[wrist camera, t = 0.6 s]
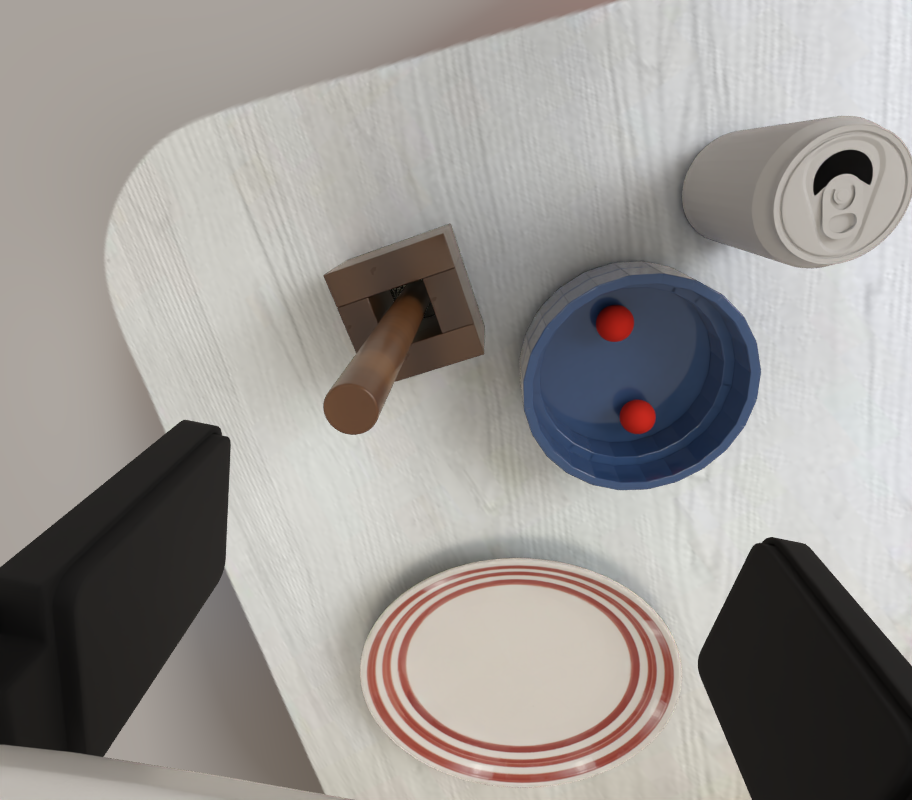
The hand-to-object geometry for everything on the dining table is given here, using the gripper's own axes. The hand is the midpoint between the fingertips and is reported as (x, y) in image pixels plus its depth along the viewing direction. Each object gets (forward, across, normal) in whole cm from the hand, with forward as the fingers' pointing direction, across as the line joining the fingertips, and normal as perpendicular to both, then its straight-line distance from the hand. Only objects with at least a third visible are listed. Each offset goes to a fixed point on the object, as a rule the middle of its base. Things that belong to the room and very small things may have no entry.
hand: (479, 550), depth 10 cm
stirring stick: (+30, +4, +2) cm, 30 cm away
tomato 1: (+29, -9, +1) cm, 30 cm away
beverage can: (+30, -14, -8) cm, 34 cm away
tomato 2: (+29, -12, +7) cm, 32 cm away
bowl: (+30, -11, +4) cm, 32 cm away
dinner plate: (+30, -10, +33) cm, 46 cm away
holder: (+30, +4, +2) cm, 30 cm away
